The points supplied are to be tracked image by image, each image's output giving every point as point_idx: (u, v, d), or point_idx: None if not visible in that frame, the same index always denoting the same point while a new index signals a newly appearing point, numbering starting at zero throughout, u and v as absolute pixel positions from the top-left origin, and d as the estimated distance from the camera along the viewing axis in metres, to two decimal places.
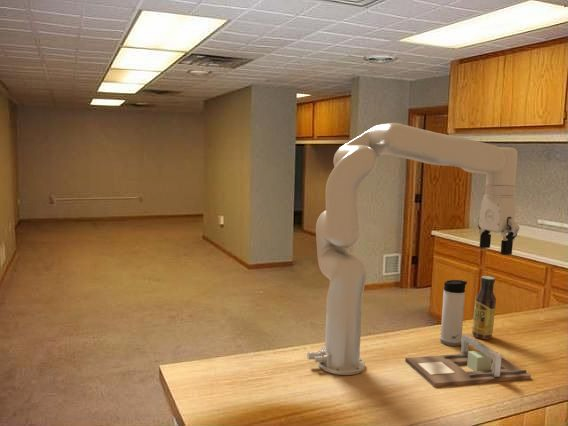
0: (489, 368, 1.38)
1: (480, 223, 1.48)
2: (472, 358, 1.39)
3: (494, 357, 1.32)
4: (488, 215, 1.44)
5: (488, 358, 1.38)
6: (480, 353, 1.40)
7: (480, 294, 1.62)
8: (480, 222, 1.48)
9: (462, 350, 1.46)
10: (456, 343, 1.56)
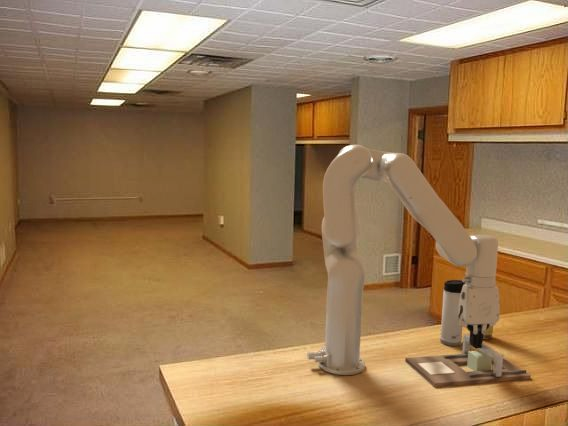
0: (489, 368, 1.38)
1: (470, 319, 1.34)
2: (472, 358, 1.39)
3: (496, 357, 1.32)
4: (484, 309, 1.35)
5: (488, 358, 1.38)
6: (480, 353, 1.40)
7: None
8: (470, 318, 1.34)
9: (464, 350, 1.46)
10: (456, 343, 1.56)
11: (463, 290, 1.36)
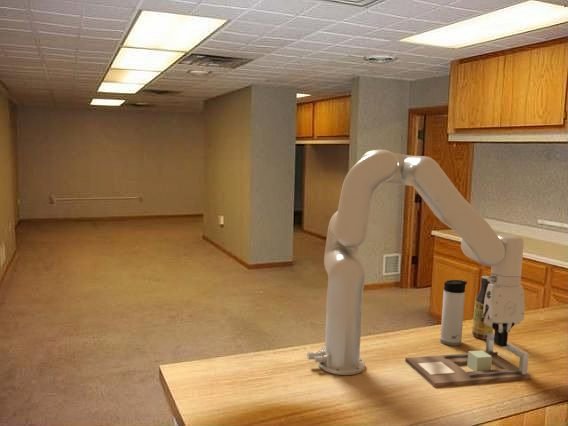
0: (489, 368, 1.38)
1: (496, 318, 1.36)
2: (472, 358, 1.39)
3: (521, 355, 1.34)
4: (509, 308, 1.36)
5: (488, 358, 1.38)
6: (480, 353, 1.40)
7: (480, 294, 1.62)
8: (496, 317, 1.36)
9: (487, 348, 1.48)
10: (456, 343, 1.56)
11: (488, 289, 1.38)
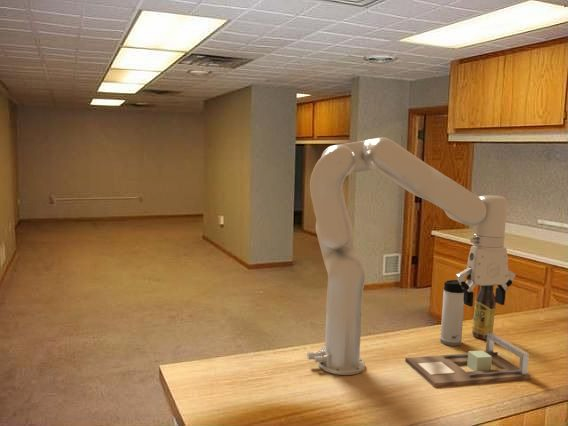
0: (489, 368, 1.38)
1: (479, 280, 1.33)
2: (472, 358, 1.39)
3: (522, 355, 1.34)
4: (492, 270, 1.34)
5: (488, 358, 1.38)
6: (480, 353, 1.40)
7: (480, 294, 1.62)
8: (479, 279, 1.33)
9: (487, 348, 1.48)
10: (456, 343, 1.56)
11: (471, 251, 1.35)
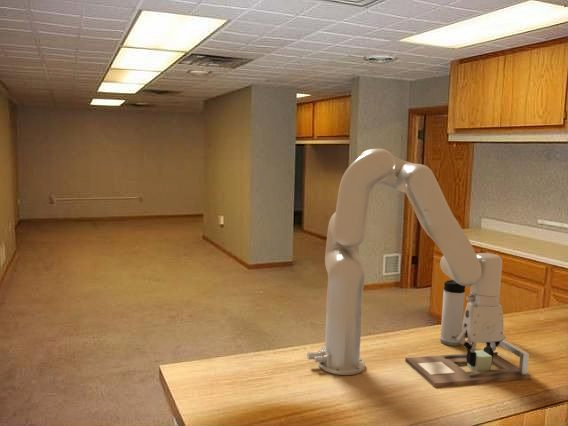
0: (489, 368, 1.38)
1: (474, 338, 1.35)
2: None
3: (522, 355, 1.34)
4: (488, 327, 1.36)
5: (488, 358, 1.38)
6: (480, 353, 1.40)
7: None
8: (474, 337, 1.35)
9: None
10: (456, 343, 1.56)
11: (467, 308, 1.37)
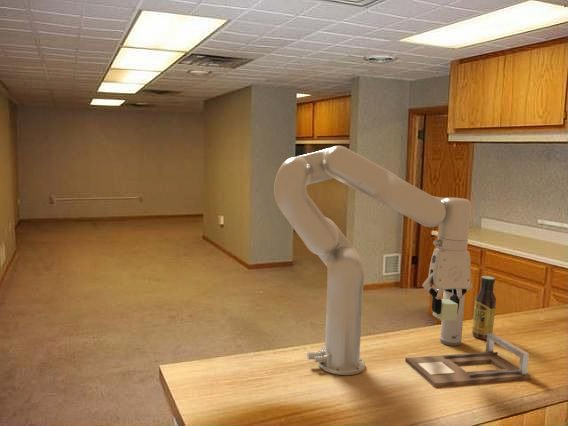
0: (455, 316, 1.34)
1: (440, 283, 1.31)
2: None
3: (522, 355, 1.34)
4: (454, 273, 1.31)
5: (454, 305, 1.33)
6: (446, 301, 1.35)
7: (480, 294, 1.62)
8: (440, 282, 1.31)
9: (487, 348, 1.48)
10: (456, 343, 1.56)
11: (434, 254, 1.33)
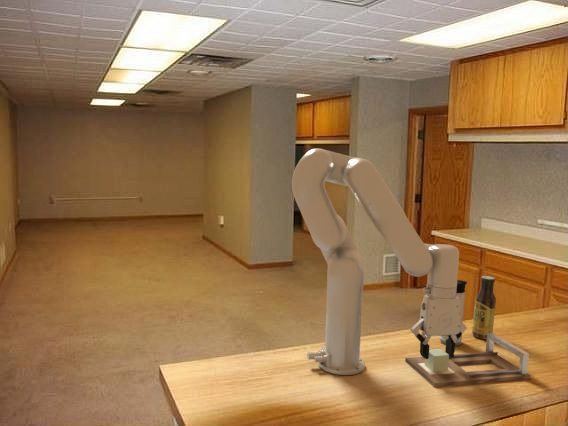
0: (446, 367, 1.35)
1: (430, 331, 1.32)
2: (429, 356, 1.36)
3: (522, 355, 1.34)
4: (444, 320, 1.32)
5: (445, 356, 1.34)
6: (437, 351, 1.37)
7: (480, 294, 1.62)
8: (430, 330, 1.32)
9: (487, 348, 1.48)
10: (456, 343, 1.56)
11: (424, 301, 1.34)
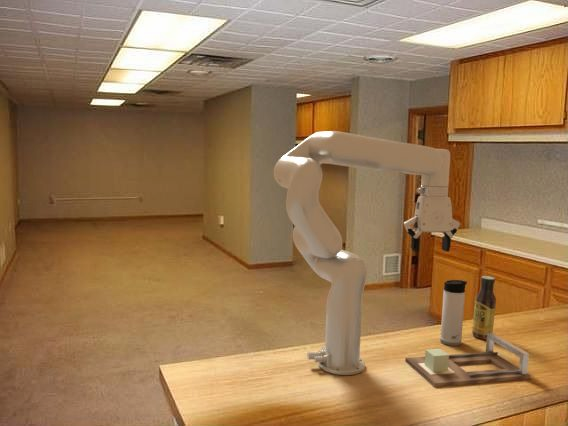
0: (446, 367, 1.35)
1: (424, 227, 1.43)
2: (429, 356, 1.36)
3: (522, 355, 1.34)
4: (437, 217, 1.44)
5: (445, 356, 1.34)
6: (437, 351, 1.37)
7: (480, 294, 1.62)
8: (424, 226, 1.43)
9: (487, 348, 1.48)
10: (456, 343, 1.56)
11: (418, 200, 1.45)
